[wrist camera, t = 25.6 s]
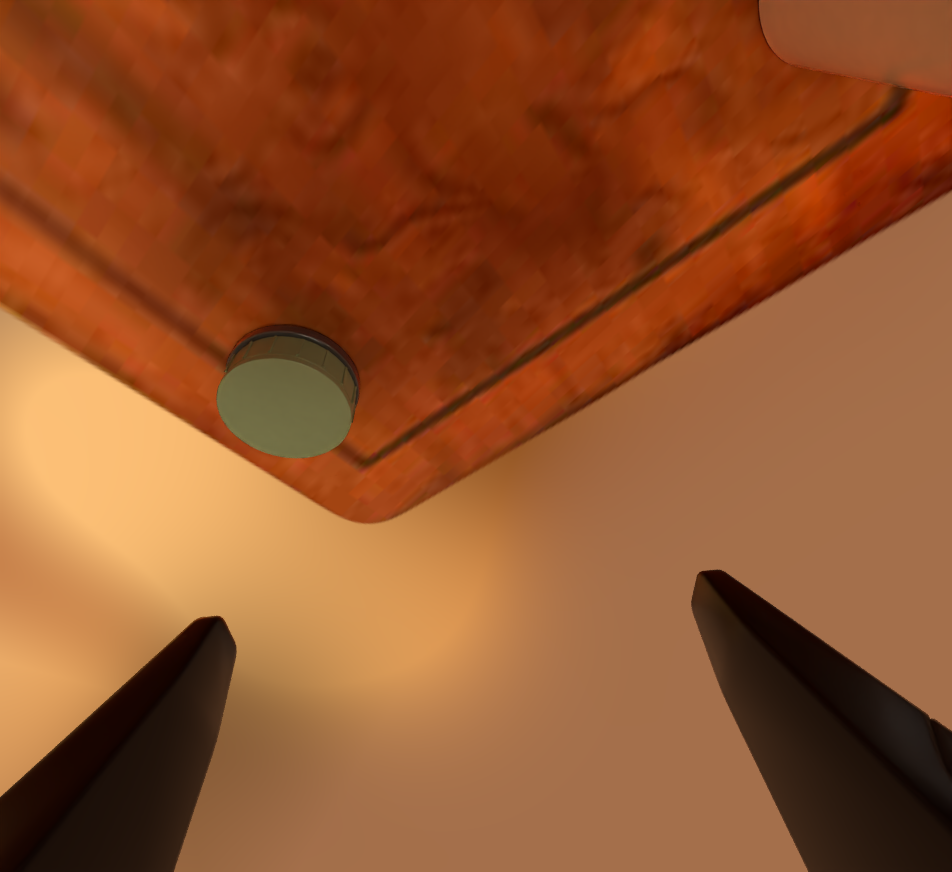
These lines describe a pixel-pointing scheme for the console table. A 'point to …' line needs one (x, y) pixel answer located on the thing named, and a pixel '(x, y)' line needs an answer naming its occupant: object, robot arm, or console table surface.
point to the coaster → (307, 335)
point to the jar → (866, 39)
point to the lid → (287, 397)
